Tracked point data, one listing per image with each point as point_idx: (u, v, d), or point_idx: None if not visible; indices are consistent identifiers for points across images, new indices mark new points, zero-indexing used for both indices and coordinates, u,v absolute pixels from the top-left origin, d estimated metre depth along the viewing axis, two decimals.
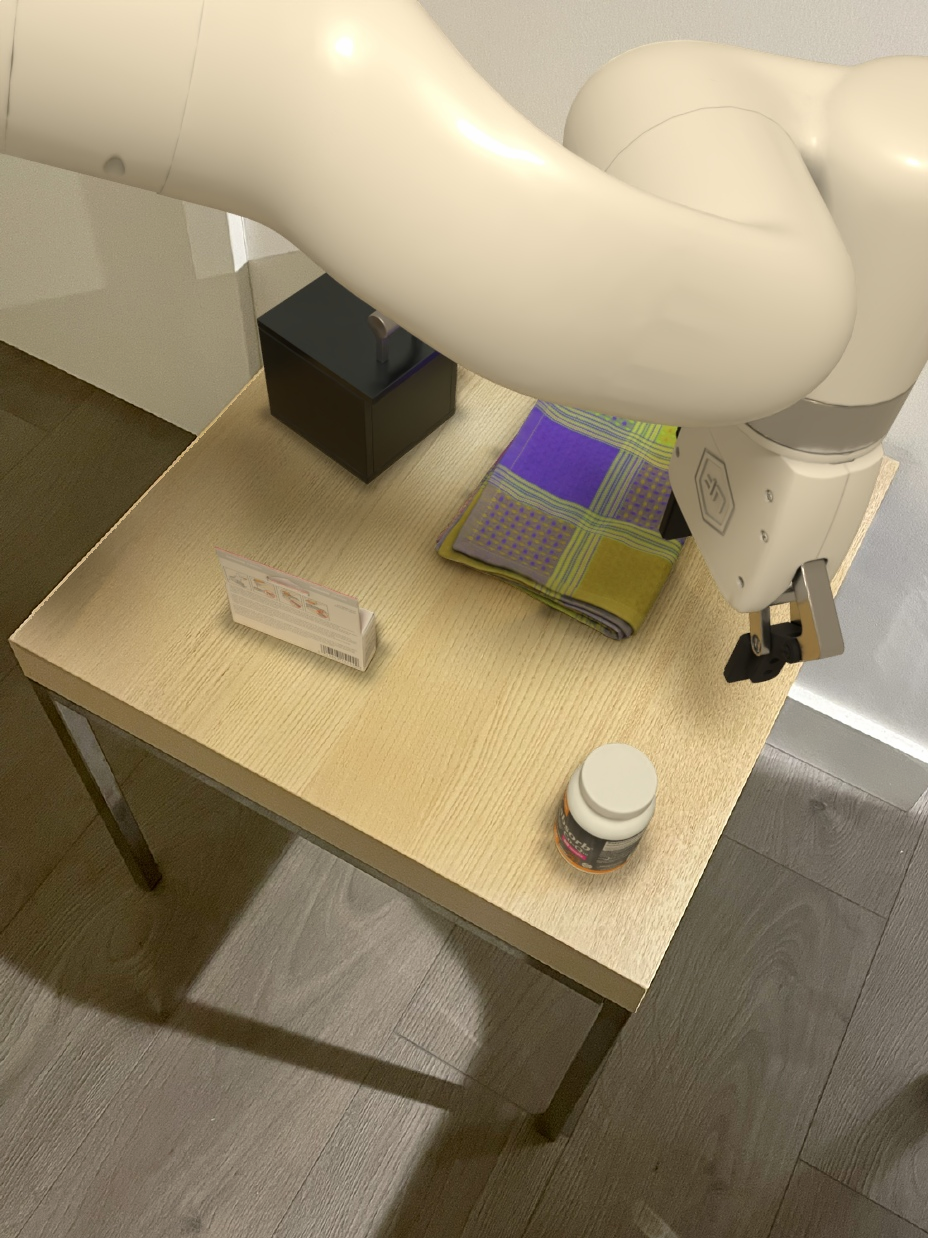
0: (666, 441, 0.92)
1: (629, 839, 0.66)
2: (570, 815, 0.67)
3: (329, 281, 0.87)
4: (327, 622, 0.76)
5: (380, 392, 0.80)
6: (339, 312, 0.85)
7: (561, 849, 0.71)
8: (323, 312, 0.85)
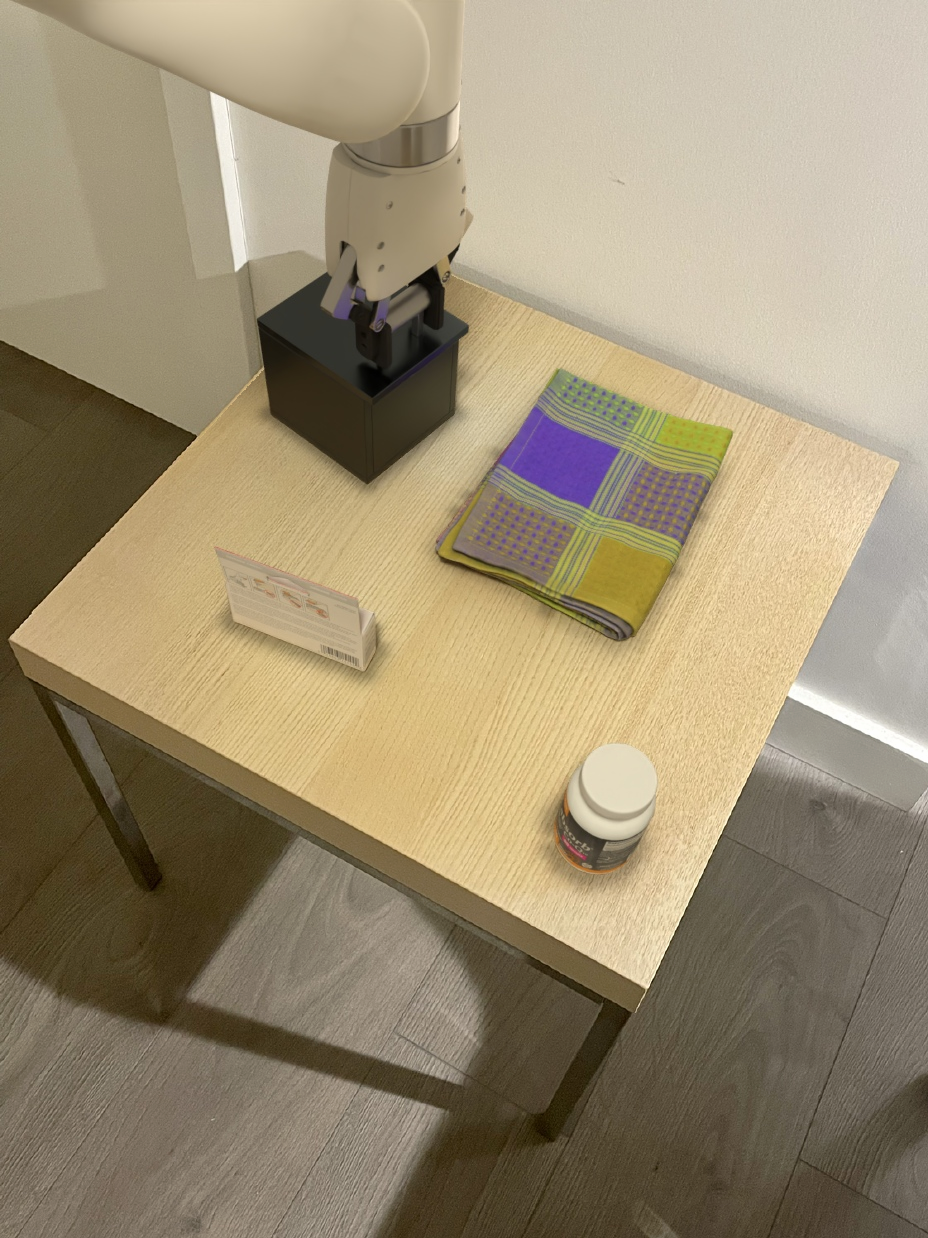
0: (666, 441, 0.92)
1: (629, 839, 0.66)
2: (570, 815, 0.67)
3: (329, 281, 0.87)
4: (327, 622, 0.76)
5: (380, 392, 0.80)
6: None
7: (561, 849, 0.71)
8: (323, 312, 0.85)
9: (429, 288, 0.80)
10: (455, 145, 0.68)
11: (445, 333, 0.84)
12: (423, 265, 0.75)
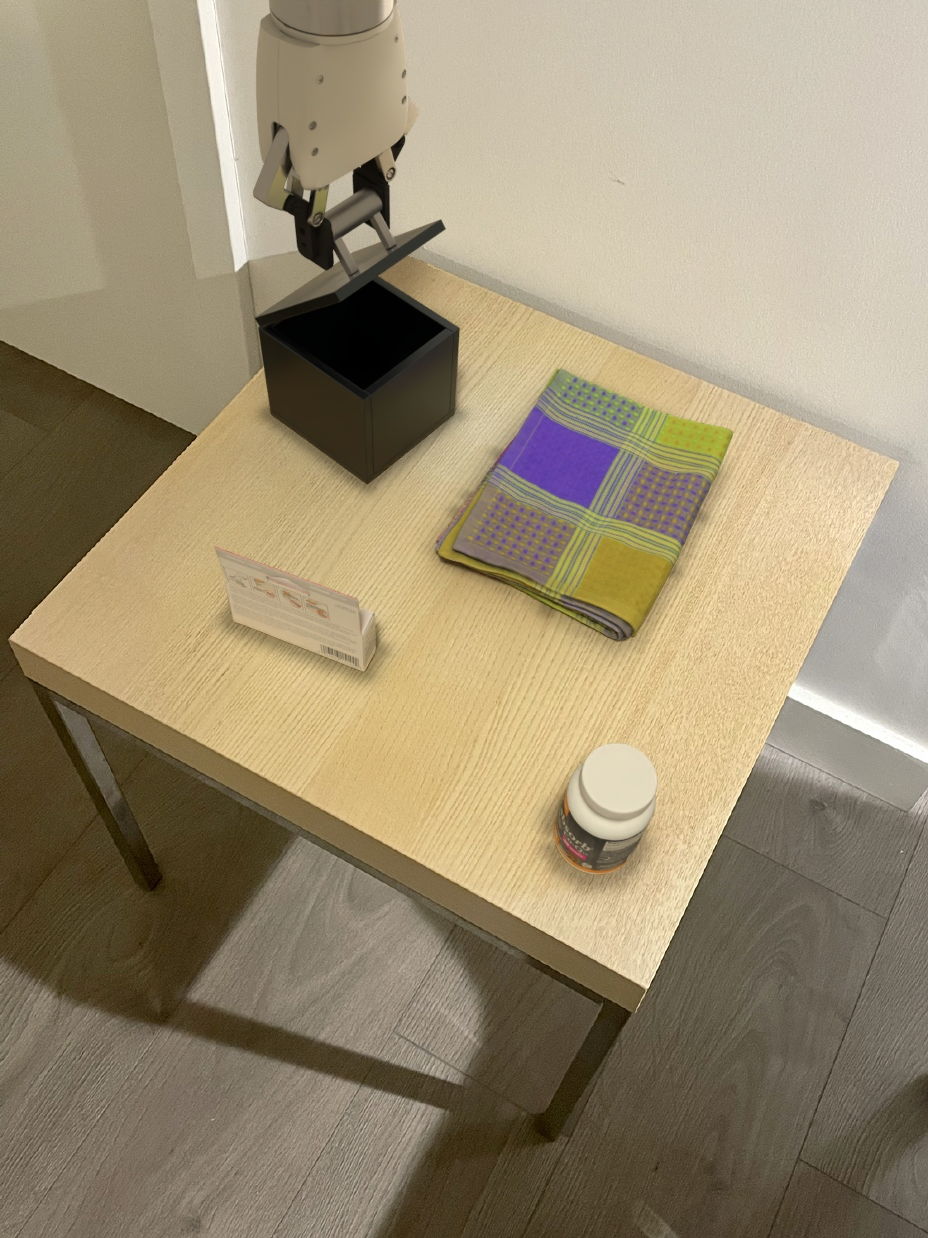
0: (666, 441, 0.92)
1: (629, 839, 0.66)
2: (570, 815, 0.67)
3: (324, 272, 0.86)
4: (327, 622, 0.76)
5: (343, 285, 0.75)
6: (325, 278, 0.83)
7: (561, 849, 0.71)
8: (312, 285, 0.83)
9: (373, 186, 0.77)
10: (389, 16, 0.64)
11: (417, 233, 0.79)
12: (363, 155, 0.72)
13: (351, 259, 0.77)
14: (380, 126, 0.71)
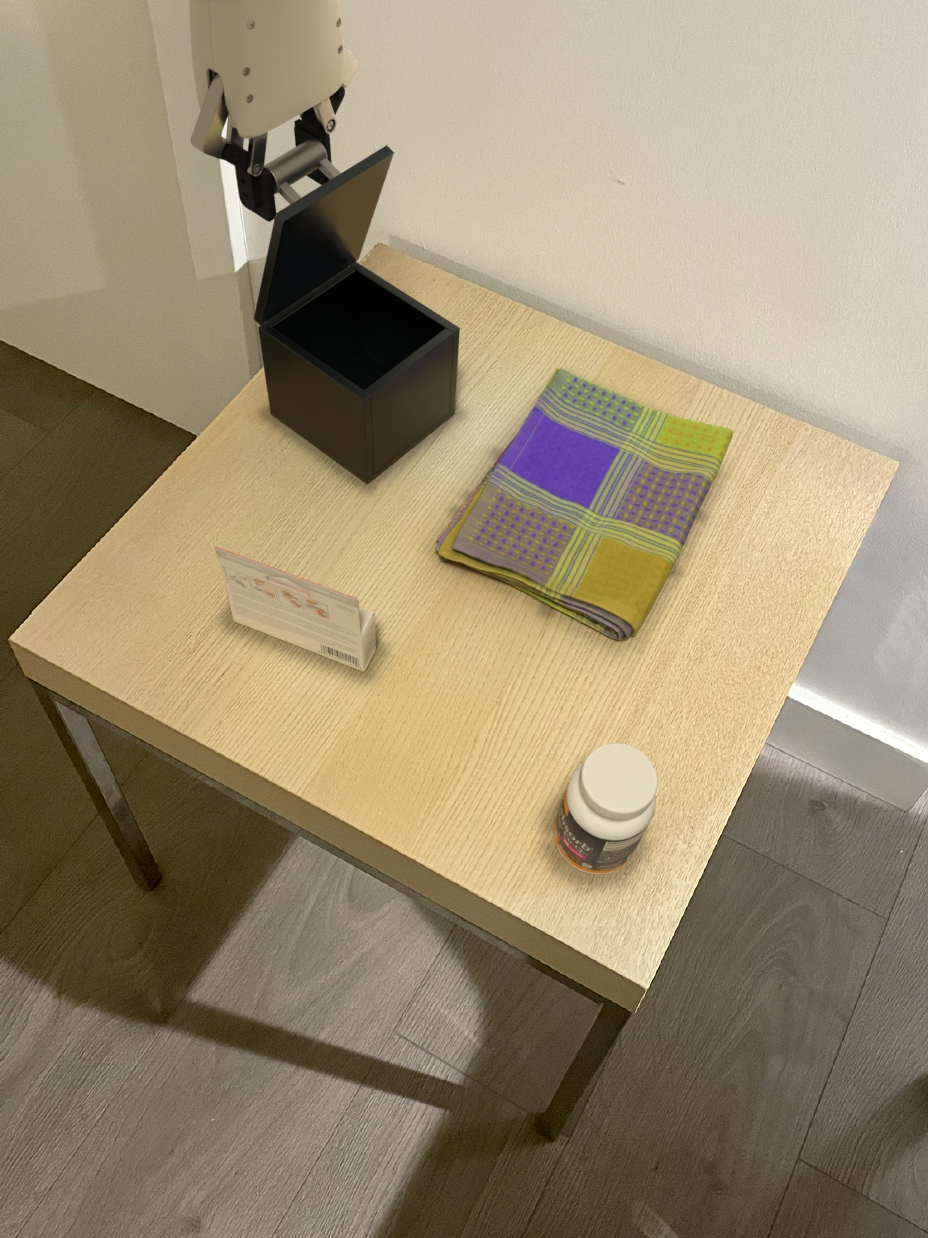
0: (666, 441, 0.92)
1: (629, 839, 0.66)
2: (570, 815, 0.67)
3: None
4: (327, 622, 0.76)
5: (284, 208, 0.73)
6: None
7: (561, 849, 0.71)
8: None
9: None
10: None
11: None
12: (300, 104, 0.73)
13: None
14: (316, 75, 0.72)
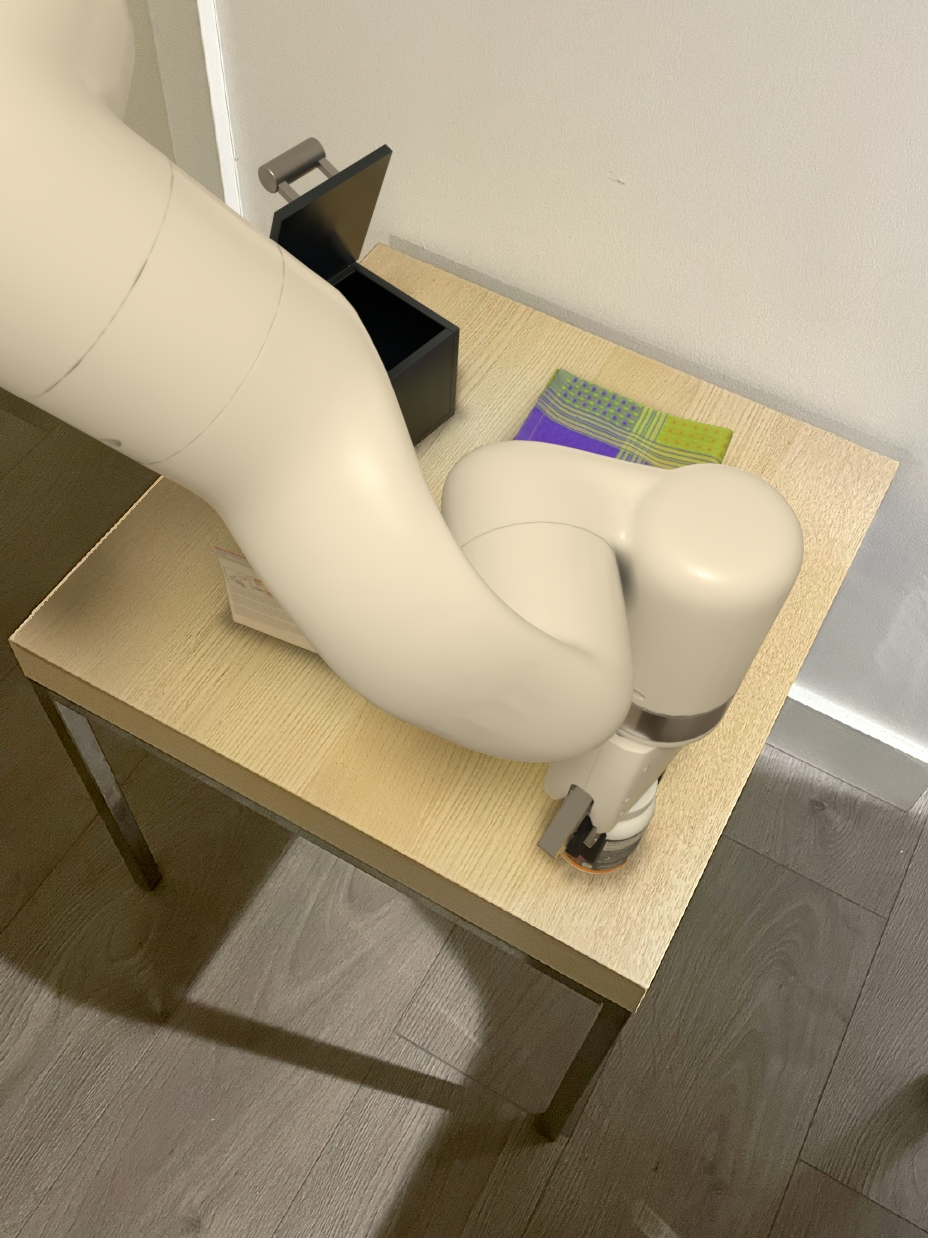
0: (666, 441, 0.92)
1: (629, 839, 0.66)
2: None
3: None
4: None
5: None
6: None
7: None
8: None
9: None
10: None
11: None
12: None
13: None
14: None
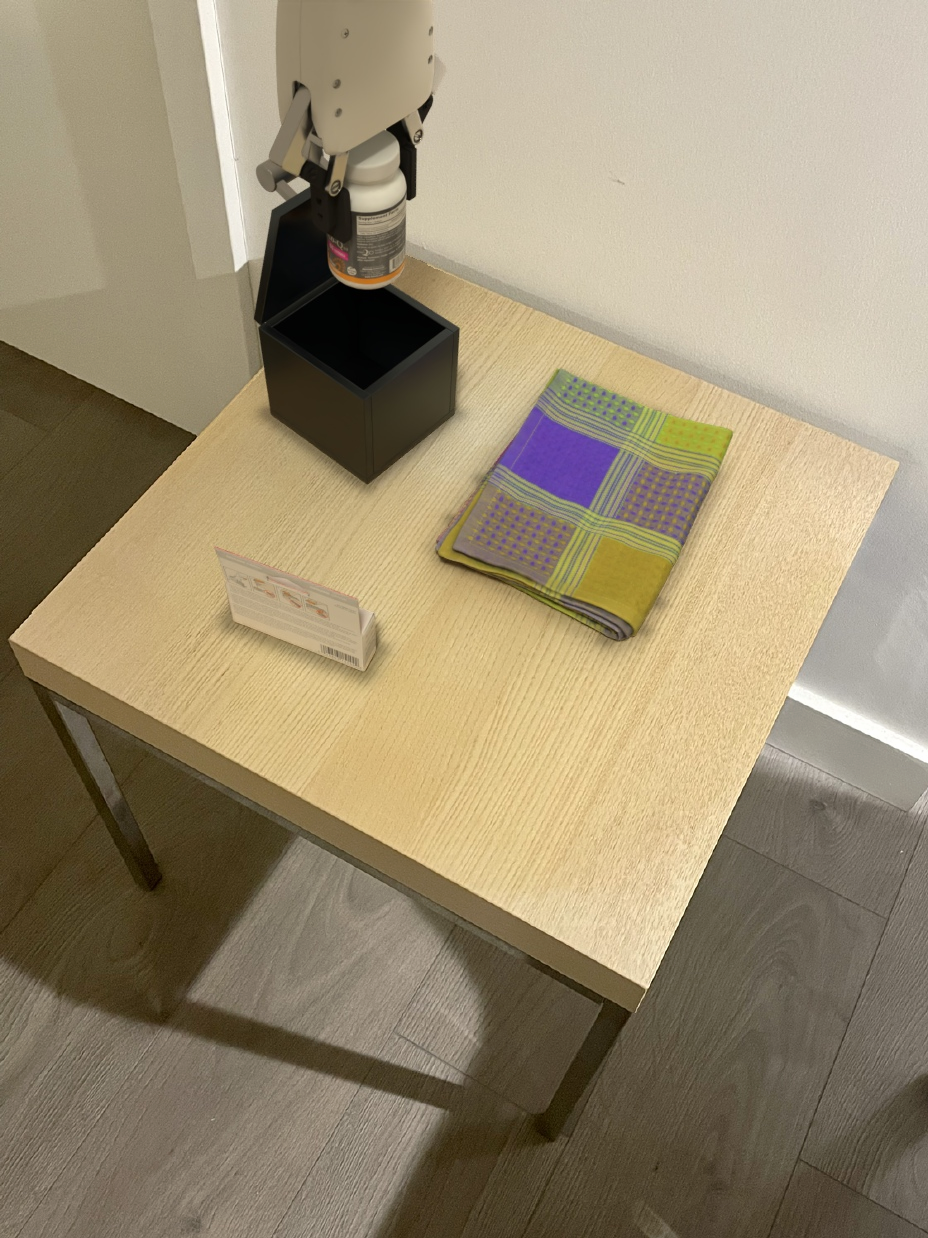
0: (666, 441, 0.92)
1: (378, 215, 0.73)
2: None
3: None
4: (327, 622, 0.76)
5: None
6: None
7: (331, 263, 0.77)
8: None
9: None
10: None
11: None
12: (387, 118, 0.68)
13: None
14: (406, 87, 0.68)
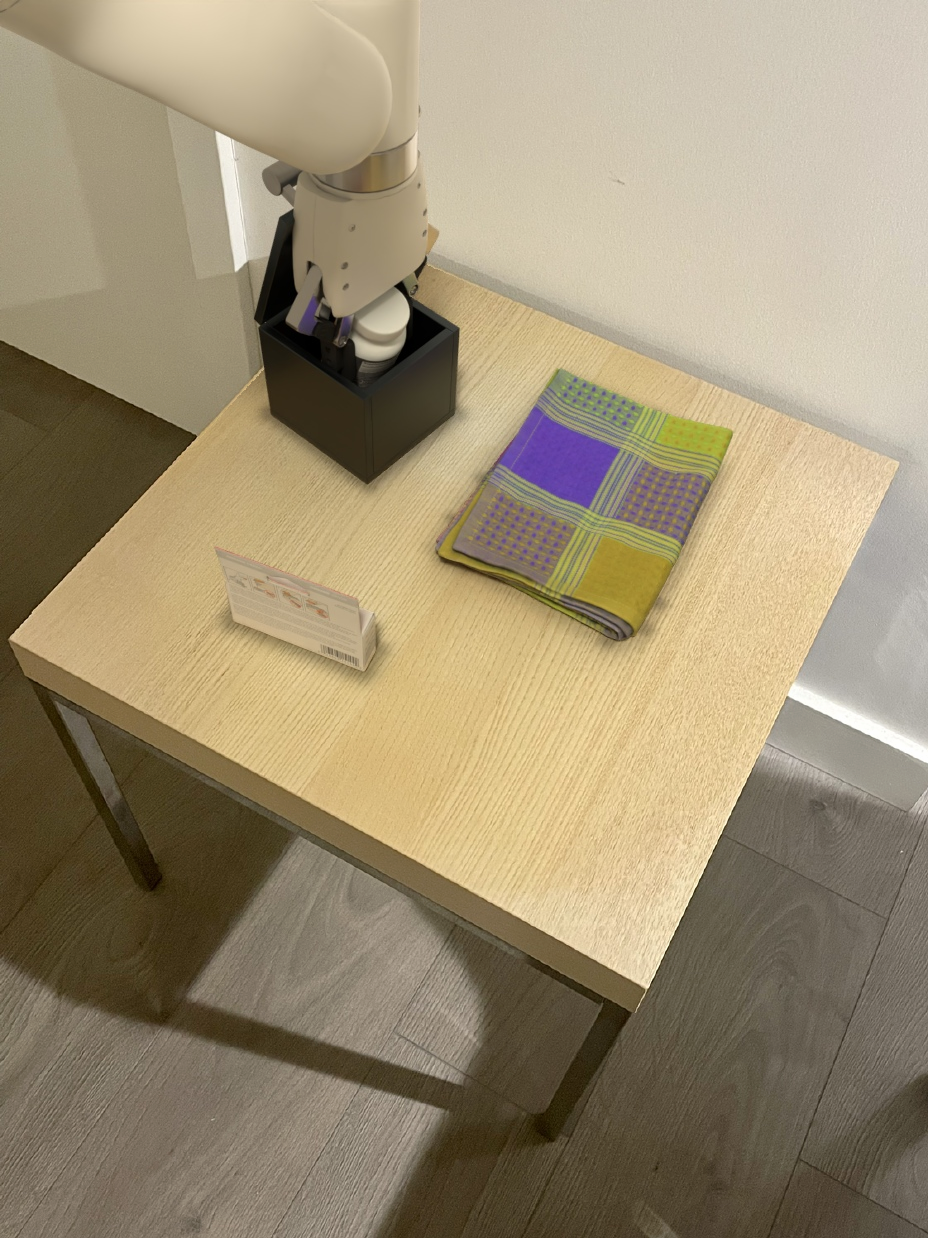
0: (666, 441, 0.92)
1: (380, 362, 0.84)
2: None
3: None
4: (327, 622, 0.76)
5: (288, 211, 0.73)
6: None
7: None
8: None
9: None
10: (414, 171, 0.72)
11: None
12: (387, 283, 0.79)
13: None
14: (403, 258, 0.79)
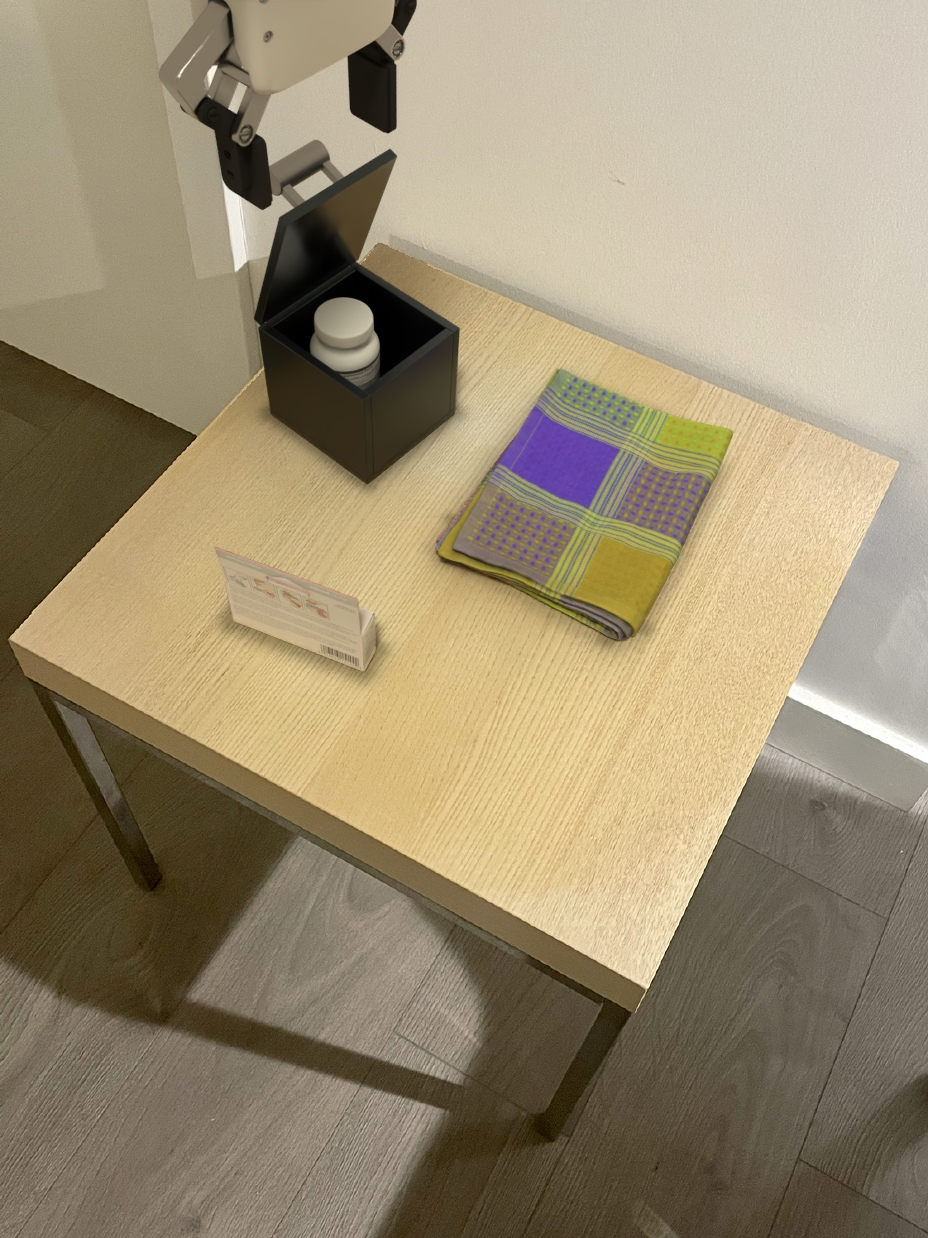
0: (666, 441, 0.92)
1: (355, 373, 0.86)
2: None
3: None
4: (327, 622, 0.76)
5: (288, 211, 0.73)
6: None
7: None
8: None
9: (375, 66, 0.59)
10: None
11: None
12: (336, 49, 0.54)
13: (303, 201, 0.76)
14: (358, 9, 0.53)
